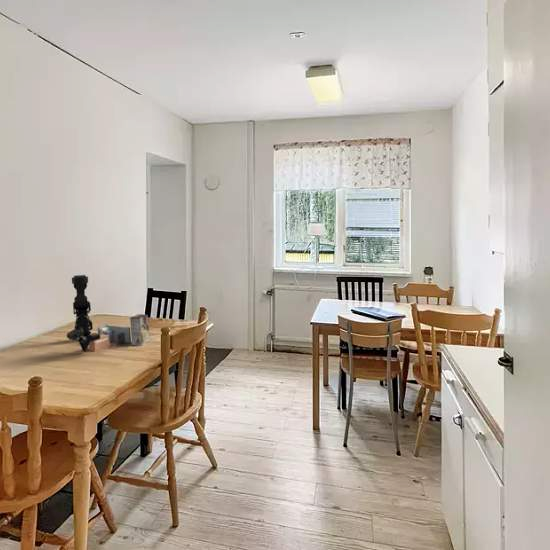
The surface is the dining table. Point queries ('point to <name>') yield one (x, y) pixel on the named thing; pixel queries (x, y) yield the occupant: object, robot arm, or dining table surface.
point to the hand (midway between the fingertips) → (84, 351)
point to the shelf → (115, 332)
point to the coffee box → (139, 329)
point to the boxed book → (99, 343)
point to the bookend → (121, 339)
